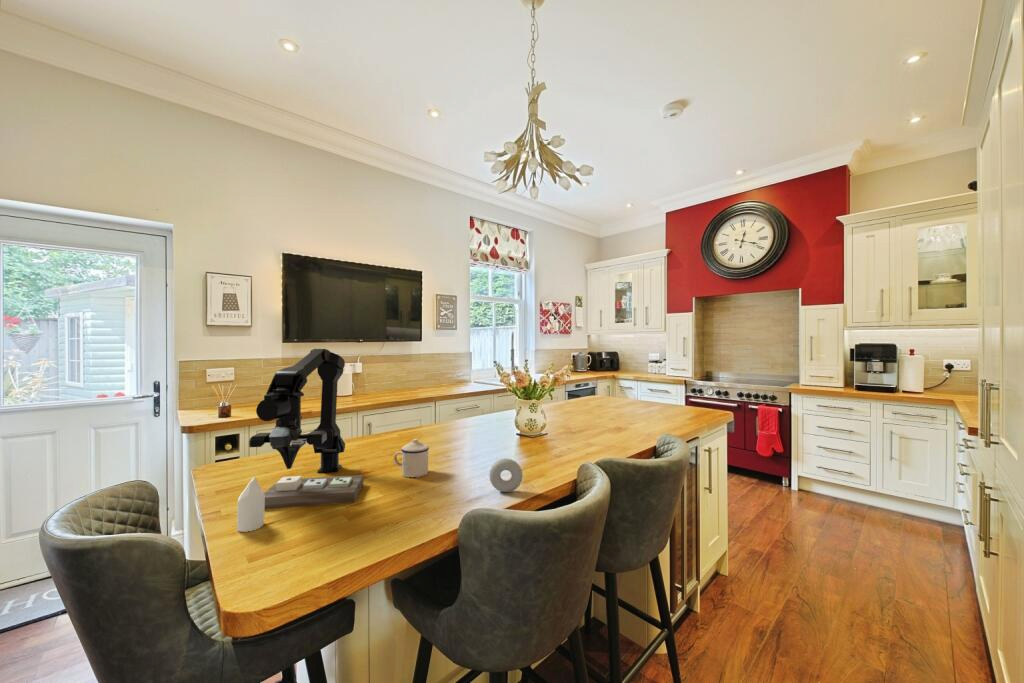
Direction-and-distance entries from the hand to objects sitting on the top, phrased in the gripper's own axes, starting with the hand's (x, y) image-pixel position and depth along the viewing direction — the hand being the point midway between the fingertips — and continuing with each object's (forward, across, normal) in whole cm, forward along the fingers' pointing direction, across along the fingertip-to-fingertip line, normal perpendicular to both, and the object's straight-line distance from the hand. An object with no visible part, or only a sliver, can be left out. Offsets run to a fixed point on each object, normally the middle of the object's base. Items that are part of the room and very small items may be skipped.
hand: (289, 468), depth 113 cm
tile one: (+6, 0, 0) cm, 6 cm away
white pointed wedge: (+8, -3, -18) cm, 20 cm away
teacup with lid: (+8, +33, +15) cm, 37 cm away
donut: (+8, +62, -7) cm, 63 cm away
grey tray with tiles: (+8, +7, 0) cm, 11 cm away
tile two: (+7, +7, 0) cm, 10 cm away
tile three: (+7, +14, 0) cm, 16 cm away
